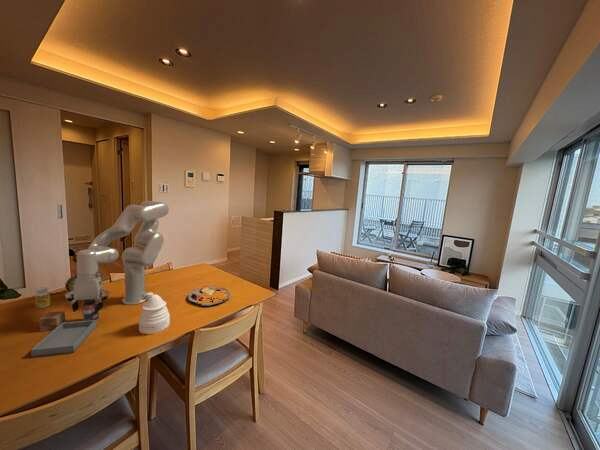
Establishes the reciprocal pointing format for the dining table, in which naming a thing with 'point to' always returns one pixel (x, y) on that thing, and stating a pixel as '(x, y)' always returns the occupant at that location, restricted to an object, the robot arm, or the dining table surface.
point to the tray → (64, 338)
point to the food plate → (205, 290)
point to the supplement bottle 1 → (42, 297)
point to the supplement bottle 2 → (90, 310)
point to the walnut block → (51, 320)
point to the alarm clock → (71, 283)
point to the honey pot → (154, 315)
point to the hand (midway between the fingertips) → (88, 309)
